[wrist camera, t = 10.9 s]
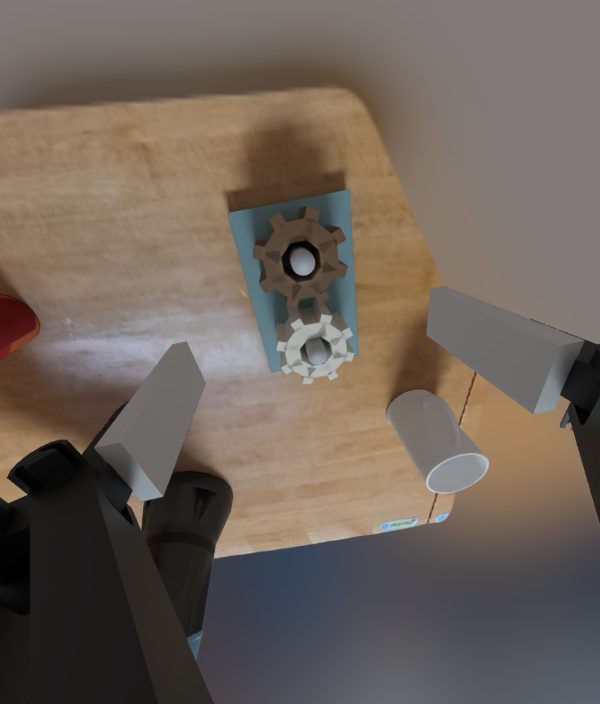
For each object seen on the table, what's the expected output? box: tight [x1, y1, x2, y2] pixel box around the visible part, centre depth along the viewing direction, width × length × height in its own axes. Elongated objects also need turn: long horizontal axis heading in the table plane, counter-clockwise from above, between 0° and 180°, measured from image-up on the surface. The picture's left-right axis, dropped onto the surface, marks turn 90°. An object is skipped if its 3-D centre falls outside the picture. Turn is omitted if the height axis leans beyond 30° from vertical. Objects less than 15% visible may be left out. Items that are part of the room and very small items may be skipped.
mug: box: [386, 389, 489, 493], centre depth 35 cm, size 12×8×12 cm
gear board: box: [227, 189, 359, 373], centre depth 26 cm, size 12×19×8 cm, turn 10°
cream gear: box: [276, 299, 354, 384], centre depth 29 cm, size 8×8×5 cm
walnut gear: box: [252, 206, 348, 308], centre depth 24 cm, size 8×8×5 cm
